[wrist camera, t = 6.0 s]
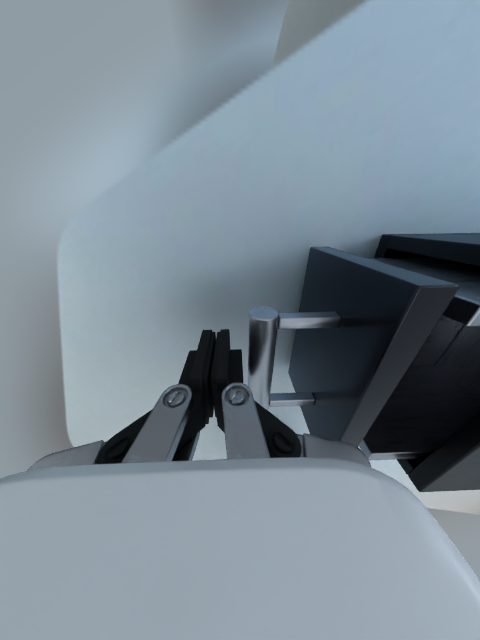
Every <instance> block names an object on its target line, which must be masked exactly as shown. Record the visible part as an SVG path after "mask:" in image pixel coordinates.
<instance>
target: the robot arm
mask: <svg viewBox="0 0 480 640" xmlns="http://www.w3.org/2000/svg"><path fill="white" fill-rule="evenodd" d="M214 410H215V417H217V424H218V426H219V427H220V429H221V430H222V431H223V432H224V433H225V440H226V450H227V459H223V460H196V461H192V459H193V456H194V452H195V449H196V446H197V442H198V439H199V435H200V430H201V429H203V428H204V427H205V424H208V423H209V417H213V411H214ZM0 640H480V580H479V579H478V578H477V576H476V575H475V573H474V572H473V570H472V569H471V567H470V566H469V564H468V563H467V562H466V560H465V559H464V558H463V556H462V555H461V553H460V552H459V551H458V549H457V548H456V546H455V545H454V544H453V542H452V541H451V540H450V538H449V537H448V536H447V534H446V533H445V532H444V530H443V529H442V527H441V526H440V525H439V524H438V522H437V521H436V520H435V518H434V517H433V516H432V515H431V513H430V512H429V511H428V510H427V509H426V507H425V506H424V505H423V504H422V503H421V502H420V500H419V499H418V498H417V497H416V496H415V495H414V494H413V493H412V492H410V491H409V490H408V489H407V488H406V487H405V486H403V485H402V484H401V483H399V482H398V481H396V480H395V479H393V478H391V477H389V476H387V475H386V474H384V473H382V472H380V471H377V470H375V469H373V468H371V465H370V462H369V460H368V459H367V457H366V455H365V454H364V453H363V452H362V451H361V450H360V449H359V448H358V447H356V446H355V445H353V444H350V443H347V442H342V441H338V440H333V439H328V438H324V437H319V436H314V435H310V434H305V433H304V434H303V435H299V434H296V433H295V432H294V431H293V430H292V429H290V428H289V427H288V426H287V425H285V424H284V423H283V422H281V421H280V420H279V419H278V418H276V417H275V416H274V415H273V414H271V413H270V412H269V411H267V410H266V409H265V408H264V407H262V406H261V405H260V404H259V403H257V402H256V401H255V400H254V398H253V394H252V391H251V389H250V388H249V387H248V386H247V385H245V384H243V367H242V350H241V349H238V350H230V332H229V329H224V330H221V332H217V338H216V335H215V332H212V330H203V331H202V335H201V338H200V342H199V345H198V349H197V350H194V351H189V354H188V357H187V360H186V363H185V366H184V369H183V372H182V374H181V377H180V380H179V383H178V384H176V385H173V386H171V387H169V388H167V389H166V390H165V391H164V392H163V393H162V395H161V396H160V398H159V400H158V401H157V403H156V405H155V406H154V408H153V409H152V410H151V411H149V412H148V413H146V414H145V415H143V416H142V417H141V418H139V419H138V420H136V421H135V422H133V423H132V424H130V425H129V426H127V427H126V428H124V429H123V430H122V431H120V432H119V433H117V434H116V435H114V436H113V437H112V438H111V439H109V440H108V441H107V442H104V441H103V440H101V441H97V442H93V443H90V444H86V445H82V446H78V447H74V448H70V449H66V450H63V451H59V452H55V453H52V454H49V455H47V456H44V457H43V458H41V459H40V460H38V461H37V462H36V463H34V464H33V465H32V466H31V467H30V468H29V469H28V470H27V471H25V472H20V473H17V474H13V475H9V476H6V477H4V478H0Z"/></svg>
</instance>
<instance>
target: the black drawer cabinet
mask: <svg viewBox="0 0 480 640" xmlns="http://www.w3.org/2000/svg"><path fill="white" fill-rule="evenodd" d="M403 257H434V258H440V259H445V260H450V261H455V262H461V263H466V264H471V265H476V266H480V233H454V234H384V235H382V238H381V240H380V243H379V246H378V249H377V252H376V255H375V257H374V258H403ZM397 461H398V462H399V463H400V465H401V466H402V468H403V469H404V471H405V472H406V474H408V476H409V478H410V479H411V481H412V482H413V484H414V485H415V487H416V488H417V490H418V491H419V492H434V491H456V490H479V489H480V410H478V411H477V412H476V413H475V414H474V415H473V416H472V417H471V418H470V419H469V420H468V421H466V422H465V423H464V424H463V425H462V426H461V427H460V428H459V429H458V430H457V431H456V432H454V433H453V434H452V435H451V436H450V437H449V438H448V439H447V440H446V441H445V442H444V443H442V444H441V445H440V446H439V447H438V448H437V449H436V450H435V451H434V452H433V453H432V454H430V455H429V456H428V457H427V458H415V459H397Z"/></svg>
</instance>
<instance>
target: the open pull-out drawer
mask: <svg viewBox="0 0 480 640" xmlns="http://www.w3.org/2000/svg"><path fill="white" fill-rule="evenodd" d="M278 328H279V329H296V332H295V338H294V343H293V349H292V355H291V360H290V366H289V372H288V373H289V376H290V378H291V381H292V384H293V387H294V390H295V392H296V393H273V394H270V391H271V382H272V373H273V365H274V356H275V347H276V338H277V329H278ZM248 387H249V388H250V389H251V391H252V394H253V398H254V400H255V401H256V402H257V403H259V404H260V405H261V406H262V407H264V408H265V409H266V410H268V408H269V406H270V407H273V406H300V407H301V409H302V412H303V415H304V418H305V421H306V423H307V426H308V429H309V432H310V435H314V436H319V437H324V438H328V439H333V440H338V441H342V442H347V443H350V444H353V445H355V446H356V447H358V446H359V447H360V448H361V450H362V452H363V453H364V454H365V455H366V457H367V459H368V460H390V459H415V458H427V457H428V456H429V455H430V454H432V453H433V452H434V451H435V450H436V449H437V448H438V447H439V446H440V445H441V444H442V443H444V442H445V441H446V440H447V439H448V438H449V437H450V436H451V435H452V434H453V433H454V432H456V431H457V430H458V429H459V428H460V427H461V426H462V425H463V424H464V423H465V422H466V421H468V420H469V419H470V418H471V417H472V416H473V415H474V414H475V413H476V412H477V411H478V410H480V266H476V265H471V264H466V263H461V262H455V261H450V260H445V259H440V258H434V257H403V258H365V257H361V256H358V255H354V254H351V253H347V252H344V251H341V250H337V249H334V248H330V247H311V248H310V252H309V258H308V264H307V270H306V275H305V281H304V287H303V292H302V298H301V304H300V309H299V313H278V311H277V310H275V309H273V308H271V307H256V308H253V309H251V311H250V312H249V356H248Z"/></svg>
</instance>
